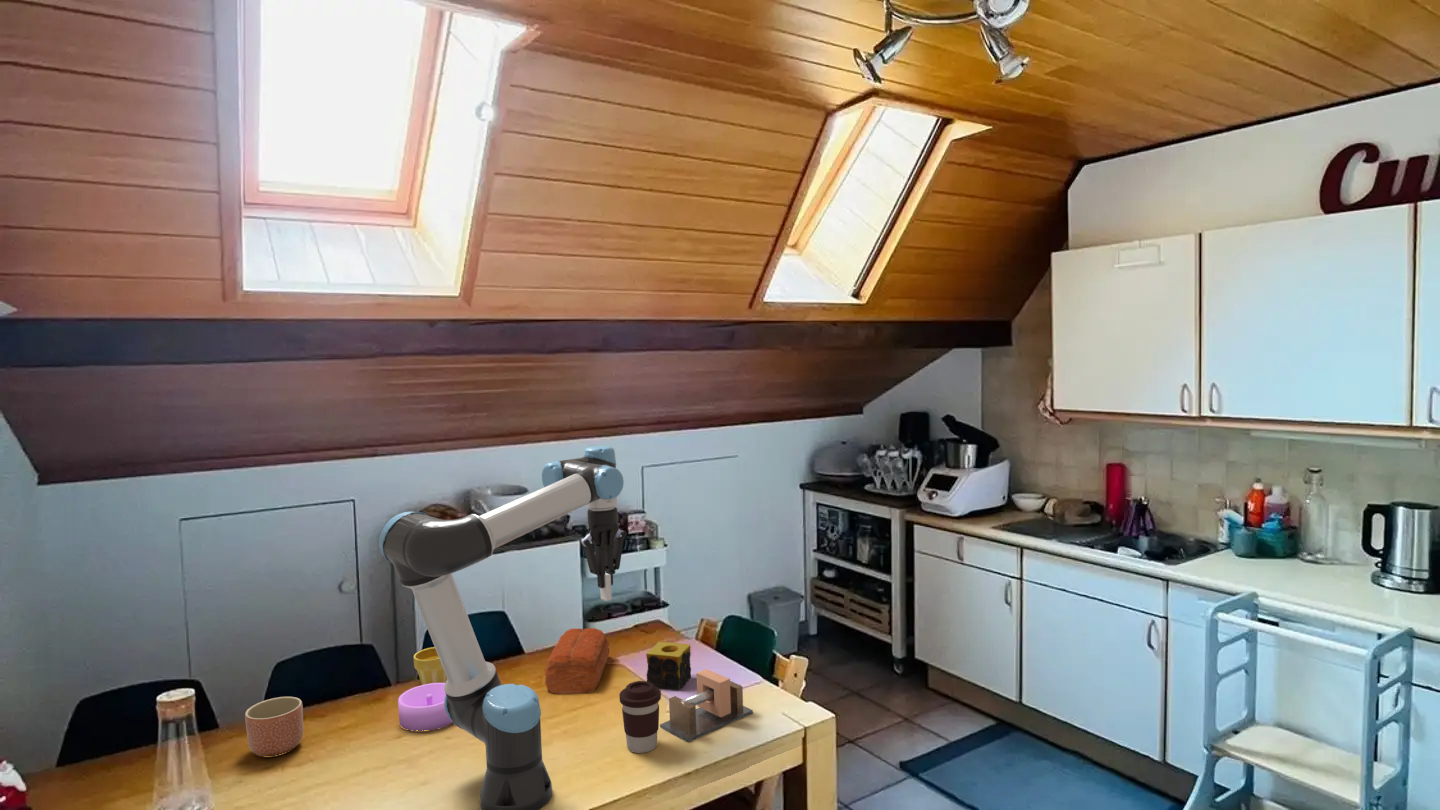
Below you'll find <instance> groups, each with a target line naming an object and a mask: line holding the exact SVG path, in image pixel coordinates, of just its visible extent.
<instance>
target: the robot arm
mask: <svg viewBox="0 0 1440 810" xmlns="http://www.w3.org/2000/svg"><path fill="white" fill-rule="evenodd" d="M624 482H625V480H624V477H623V474H622V473H621V471H620V470H619V469H618V468H617V462H616V453H615V449H614V448H613V447H612V446H607V445H596V446H595V445H594V446H593V445H592V446H589V447H587V448H585V450H584V455H583V456H582V457H578V458H570V459H563V460H555V461H553V462H548V463H546V464H545V465H544V466H543V468H542V470H541V483H542V485H543V487H541V488H539V489H538V490H535V491H533V492H530V493H528V494H526V495H524V496H521V497H519V498H516V499H514V500H512V501H510V502H508V503H505V504H503V505H501V506H499V507H496V508H494V509H492V510H489V511H487V512H485V513H482V514H480V515H477V514H475V513H471V514H468V515H466V516H463V517H461V518H456V519H455V518H454V519H441V518H438V517H435V516H431V515H428V514H427V513H425V512H422V511H405V512H401V513H399V514H397V515H395V516H393V517H392V518H390V519H389V520H388V521H387V523H386V524H385V525H384V526H383V527H382V528H383V529H382V530H381V533H380V535H379V540H378V543H379V545H378V546H379V549H380V550H379V551H380V553H381V554H382V556H383V558H385V560H386V561H387V562H388V563H390V564H392V565H393V567H394V570H395V572H396V575H397V577H398V579H399V582H400V584H401V586H402V587H404V588H407V589H411V590H412V593H413V596H414V598H415V601H416V603H417V605H418V609H419V610H420V613H421V616H422V618H423V621H424V623H425V626H426V628H427V631H428V634H429V636H430V639H431V641H432V644H433V645H434V646H433V647H435V649H436V651H437V654H438V656H439V659H440V661H441V664H442V666H443V669H444V671H445V674H446V676H447V681H446V683H445V685H444V691H445V694H446V696H445V699H444V706H445V710H446V713H447V715H448V717H449V718H450V719H451V721H452V722H453V723H452V724H454V725H455V726H456V727H458V728H459V729H462V730H463V731H464V732H467V733H468V734H469V735H471V736H472V737H475V738H476V739H478V740H479V741H480V742H483V744H484V745H485V758H486V759H485V760H486V761H485V762H486V769H485V773H484V777H483V780H482V785H481V789H480V792H479V805H480V809H481V810H541V809H542V808H544V807H546V805H547V804H548V803H549V802H550V800H551V798H552V796H553V785H552V780H551V777H550V775H549V772H548V770H547V768H546V765H545V763H544V761H543V750H542V749H543V747H542V745H543V744H542V728H541V727H542V726H541V725H542V724H541V714H542V709H541V705H540V699H539V696H538V693H537V692H536V691H535V690H534V689H532V688H531V687H529V686H527V685H524V684H518V685H516V683H505V684H502V682H501V679H500V676H499V674H498V672H497V669H496V666H495V664H493V663H491V662H489V661H486V660H485V658H484V654H483V652H482V649H481V647H480V644H479V641H478V640H477V637H476V634H475V632H474V628H473V626H472V623H471V621H470V618H469V615H468V613H467V611H466V607H465V605H464V601H463V600H462V597H461V595H460V593H459V589H458V587H457V584H456V581H455V578H454V576H453V573H456V572H459V571H462V570H464V569H466V568H468V567H471V566H474V564H478V563H479V562H482V561H484V560H485V559H487V558H490V557H491V556H492V555H493V553H494V550H495V549H497V548H499V547H502V546H503V545H505V544H507V543H509V542H511V541H513V540H515V539H517V538H520V537H522V536H525V535H526V534H529V533H530V532H533V531H534V530H536V529H539V528H541V527H543V526H545V525H547V524H549V523H551V522H553V521H555V520H558V519H559V518H562V517H564V516H566V515H568V514H570V513H573V512H574V511H577V510H579V509H580V508H582V507H584V506H586V507H587V508H588V509H587V513H586V514H587V524H588V530H587V534H586V535H585V537H584V538H583V537H581V538H579V543H580V544H581V545H582V547H583V549H584V550H583V551H584V554H585V558H586V562H587V566H588V570H589V573H590V574H593V575H596V576H597V580H596V581H597V587H598V588H599V590H600V591H599V592H600V599H601V600H602V601H605V602H608V601H612V599H613V598H612V586H614V575H615V574H616V571H617V570H619V569H620V566H621V562H622V561H621V560H622V554H623V547H624V540H625V539H626V537H627V533H628V532H627V531H625V530H622V529H620V528H619V525H618V521H619V515H618V514H619V513H618V508H617V505H618V496H619V495H620V494H621V492H622V491H623V488H624V484H625V483H624ZM592 544H593V545H592ZM485 661H486V662H485Z"/></svg>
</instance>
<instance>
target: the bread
mask: <svg viewBox="0 0 1440 810" xmlns="http://www.w3.org/2000/svg"><path fill="white" fill-rule="evenodd" d="M606 636H607V635H606V633H604V632H603V631H602V630H600V629H597V628H595V627H594V628H593V627H586V628H584V629H583V628H570V629H568V630H566V631H565V632H564V633H563V634H562V635H561V636H560V637H559V639H558V641H557V643H556V644H555V646H554V647H553V650H551V653H550V656H549V657H548V659H547V662H546V667H545V669H544V674H545V678H544V679H545V680H544V685H545V687H546V688H547V690H548V691H549V693H551V694H558V695H574V694H575V695H578V694H588V693H592V692H593V691H594V690H596V688H598V685H599V683H600V680H601V677H602V675H603V672H604V670H605V667H606V663H607V661H608V658H609V655H610V648H609V645H610V643H609V640H608V639H607V637H606Z"/></svg>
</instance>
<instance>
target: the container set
mask: <svg viewBox="0 0 1440 810" xmlns="http://www.w3.org/2000/svg"><path fill="white" fill-rule="evenodd" d="M485 662H487V661H486V660H485ZM444 685H445V683H431V684H425V685H422V684H421V685H418V686H414V687H411V688H409V689H407V690H405V691H403V693H401V694H400V696H399V697H398V698H397V705H398V719H399V722H398V724H399V723H400V724H399V726H400V725H401V726H402V727H403V728H405V729H408V730H413V731H416V730H418V731H422V730H423V731H424V730H432V731H434V730H433V729H437V730H439V729H438V728H440V729H442V727H443V728H446V727H448V726H450V725H452V724H454V723H453V722H452V721H451V719H450V718H449V717H448V715H447V713H446V710H445V706H444V699H445V696H446V694H445V691H444ZM451 723H452V724H451ZM449 724H450V725H449ZM445 726H446V727H445ZM403 728H402V729H403Z"/></svg>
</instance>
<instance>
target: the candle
mask: <svg viewBox="0 0 1440 810" xmlns="http://www.w3.org/2000/svg"><path fill="white" fill-rule="evenodd" d="M645 656H646V663H647V670H646V671H647V672H646V681H647V682H650V683H652V684H653V685H654V686H655V687H657V688H659V689H660V690H665V691H668V690H669V691H675V692H676V691H677V692H678V691H681V690H682V689H683V688H684V686H685V685H686V684H687V683H688V682H689V680H690V679H691V678H692V674H691V673H692V667H691V656H692V655H691V644H689V643H681V642H680V643H679V642H665V641H658V642H657V643H656V644H655V645H654V646H653V647H652V648H650V649H649V651H647V652H646V655H645ZM686 682H687V683H686Z"/></svg>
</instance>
